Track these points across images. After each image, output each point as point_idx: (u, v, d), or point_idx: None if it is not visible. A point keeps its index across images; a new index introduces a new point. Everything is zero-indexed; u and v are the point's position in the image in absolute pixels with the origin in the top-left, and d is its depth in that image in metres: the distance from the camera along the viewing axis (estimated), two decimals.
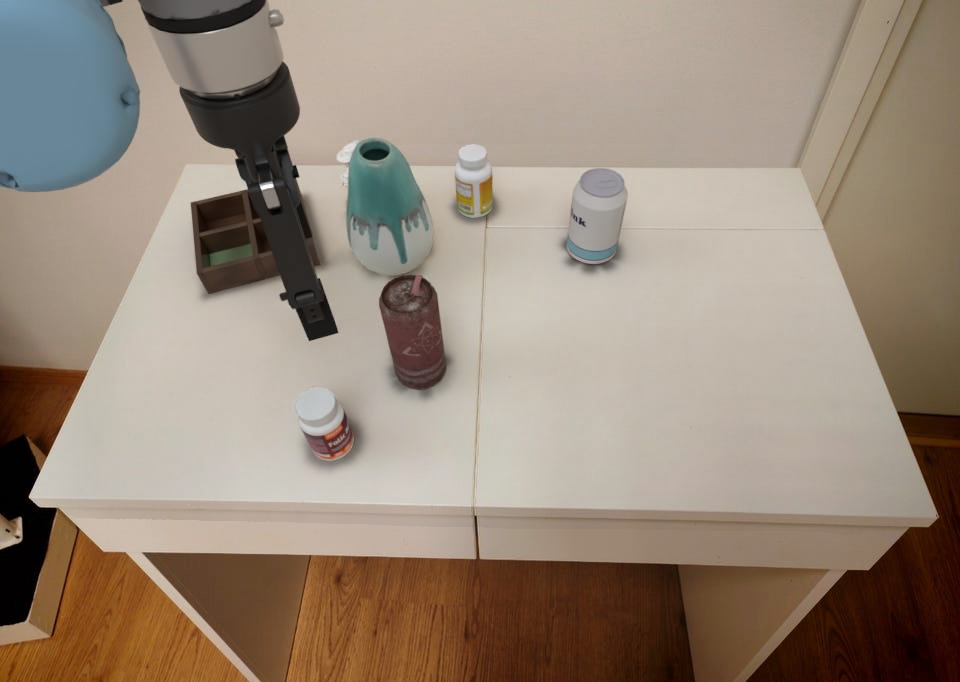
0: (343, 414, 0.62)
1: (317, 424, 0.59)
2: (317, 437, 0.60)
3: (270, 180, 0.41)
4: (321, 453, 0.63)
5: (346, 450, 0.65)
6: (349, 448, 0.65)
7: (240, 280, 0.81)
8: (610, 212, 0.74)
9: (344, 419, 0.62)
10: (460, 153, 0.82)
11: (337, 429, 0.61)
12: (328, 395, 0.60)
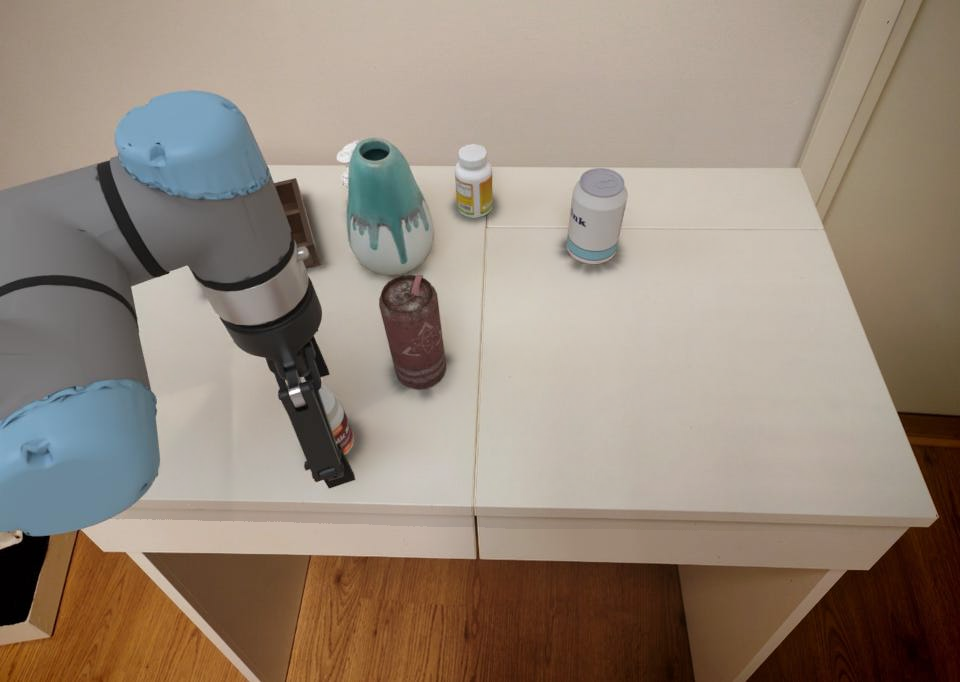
0: (343, 414, 0.62)
1: None
2: None
3: (297, 386, 0.47)
4: None
5: (346, 450, 0.65)
6: (349, 448, 0.65)
7: None
8: (610, 212, 0.74)
9: (344, 419, 0.62)
10: (460, 153, 0.82)
11: (337, 429, 0.61)
12: (328, 395, 0.60)
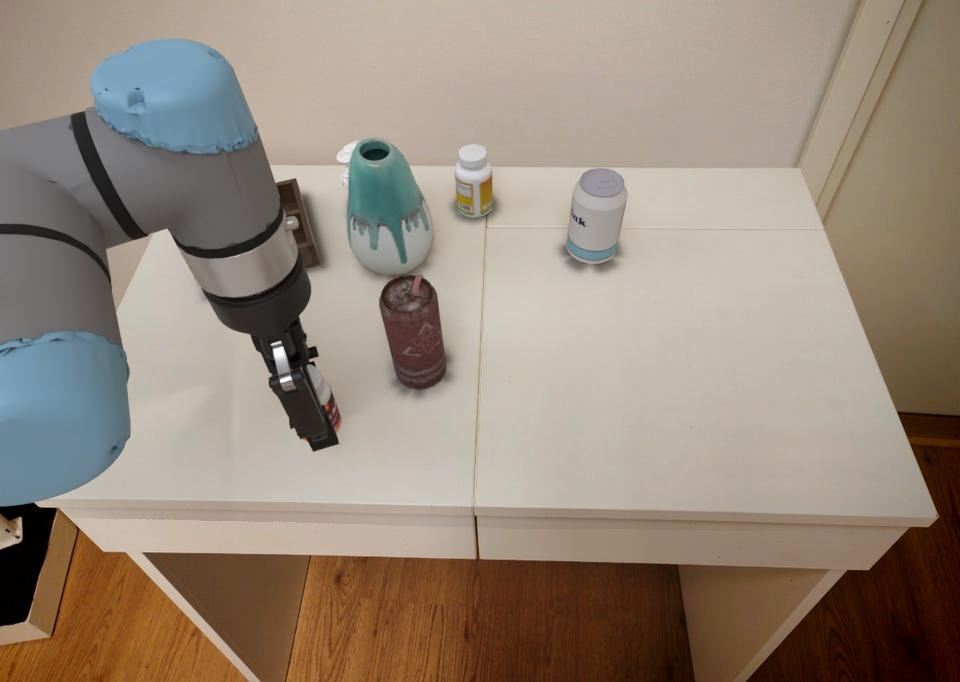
0: (330, 393, 0.58)
1: None
2: None
3: (289, 377, 0.46)
4: None
5: None
6: (336, 430, 0.61)
7: None
8: (610, 212, 0.74)
9: (331, 399, 0.58)
10: (460, 153, 0.82)
11: None
12: (314, 372, 0.57)
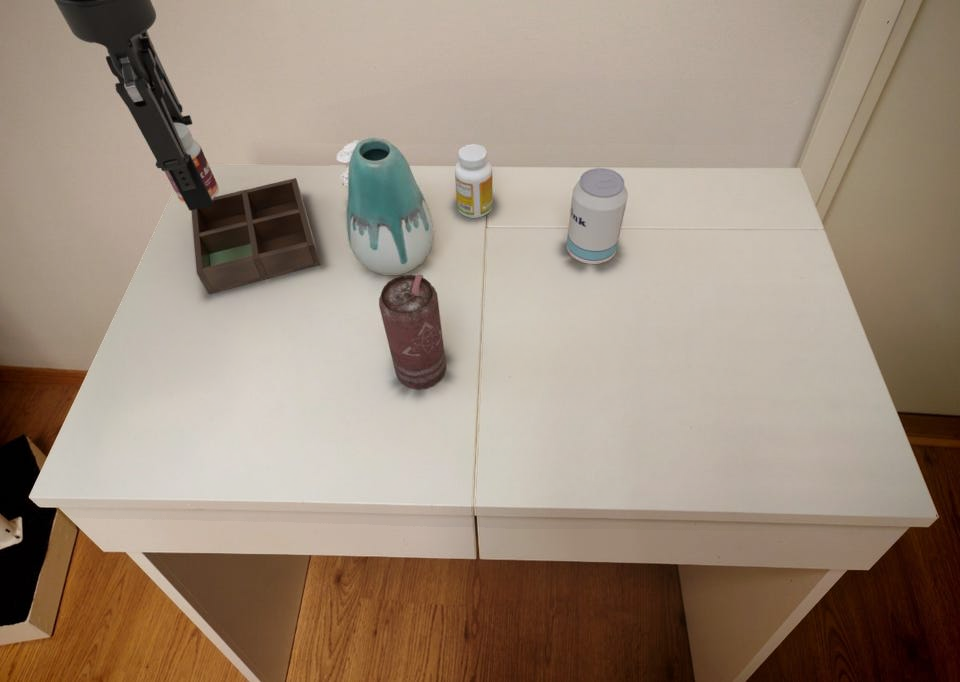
0: (199, 151, 0.67)
1: None
2: None
3: (133, 82, 0.54)
4: None
5: None
6: (212, 195, 0.70)
7: (240, 280, 0.81)
8: (609, 212, 0.74)
9: (201, 156, 0.67)
10: (460, 153, 0.82)
11: None
12: (182, 127, 0.66)
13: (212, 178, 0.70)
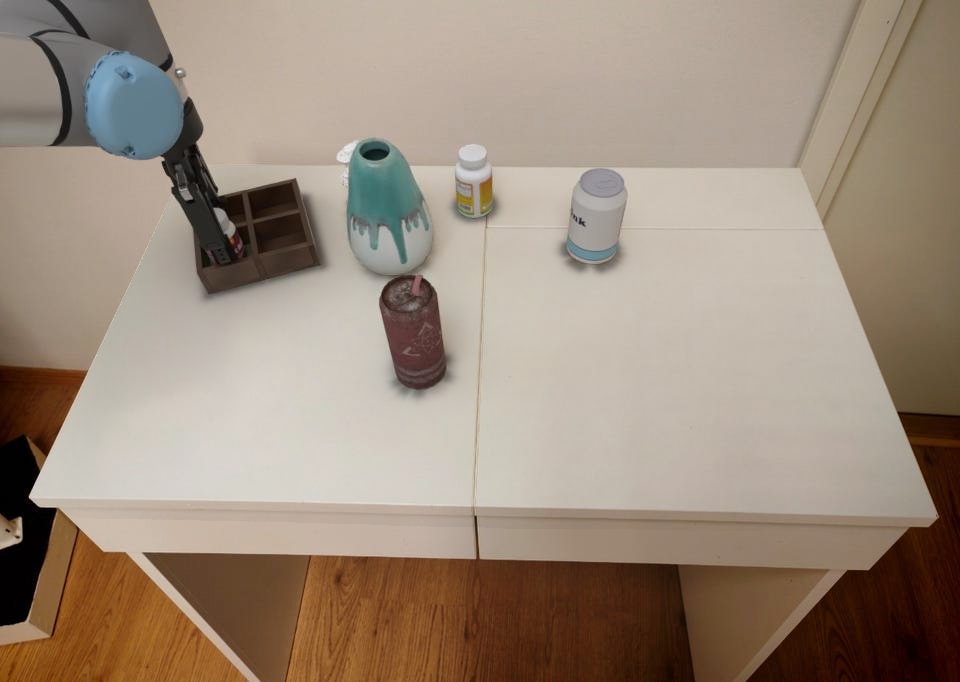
0: (234, 231, 0.78)
1: None
2: None
3: (185, 186, 0.66)
4: None
5: None
6: None
7: (240, 280, 0.81)
8: (609, 212, 0.74)
9: (235, 235, 0.79)
10: (460, 153, 0.82)
11: None
12: (220, 212, 0.77)
13: (244, 251, 0.81)
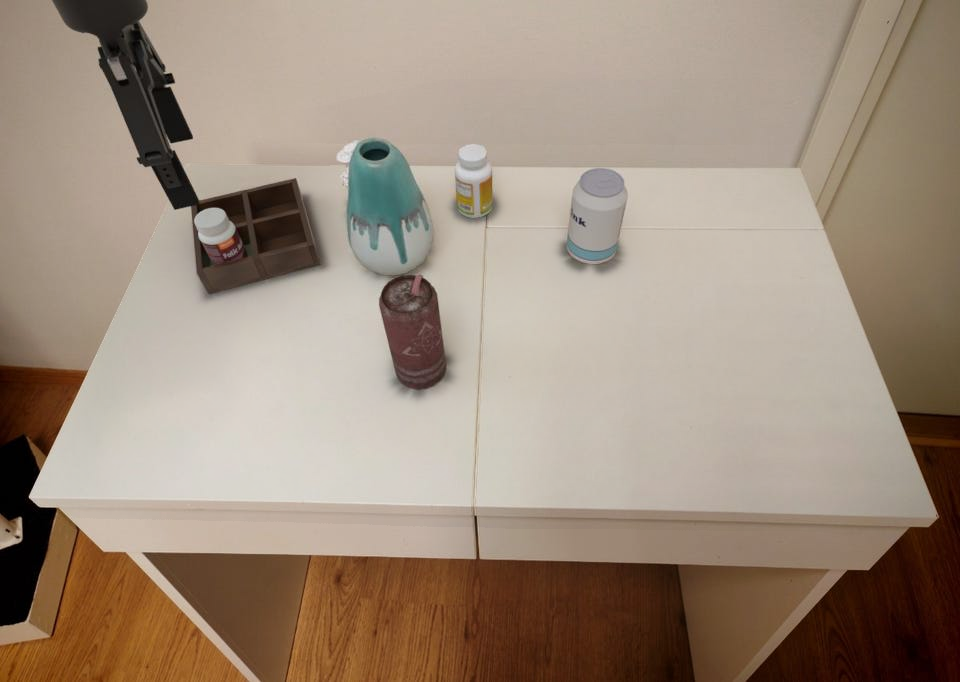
0: (234, 231, 0.78)
1: (211, 233, 0.76)
2: (213, 246, 0.77)
3: (116, 56, 0.54)
4: None
5: None
6: None
7: (240, 280, 0.81)
8: (609, 212, 0.74)
9: (235, 235, 0.79)
10: (460, 153, 0.82)
11: (228, 241, 0.78)
12: (220, 212, 0.77)
13: (244, 251, 0.81)
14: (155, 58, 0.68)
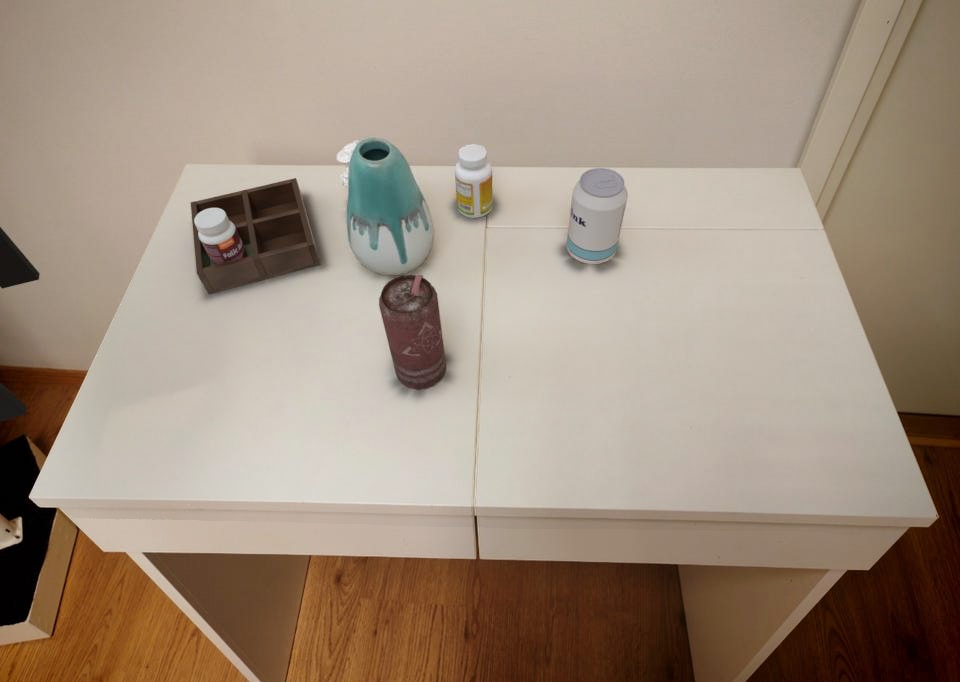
0: (234, 231, 0.78)
1: (211, 233, 0.76)
2: (213, 246, 0.77)
3: None
4: None
5: None
6: None
7: (240, 280, 0.81)
8: (610, 212, 0.74)
9: (235, 235, 0.79)
10: (460, 153, 0.82)
11: (228, 241, 0.78)
12: (220, 212, 0.77)
13: (244, 251, 0.81)
14: None
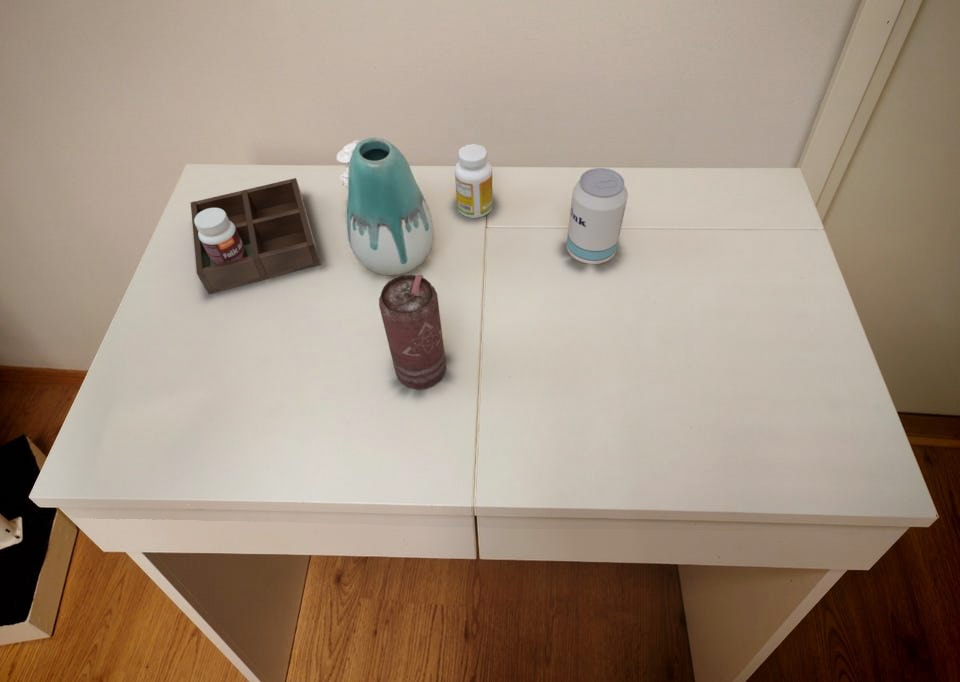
0: (234, 231, 0.78)
1: (211, 233, 0.76)
2: (213, 246, 0.77)
3: None
4: None
5: None
6: None
7: (240, 280, 0.81)
8: (609, 212, 0.74)
9: (235, 235, 0.79)
10: (460, 153, 0.82)
11: (228, 241, 0.78)
12: (220, 212, 0.77)
13: (244, 251, 0.81)
14: None
